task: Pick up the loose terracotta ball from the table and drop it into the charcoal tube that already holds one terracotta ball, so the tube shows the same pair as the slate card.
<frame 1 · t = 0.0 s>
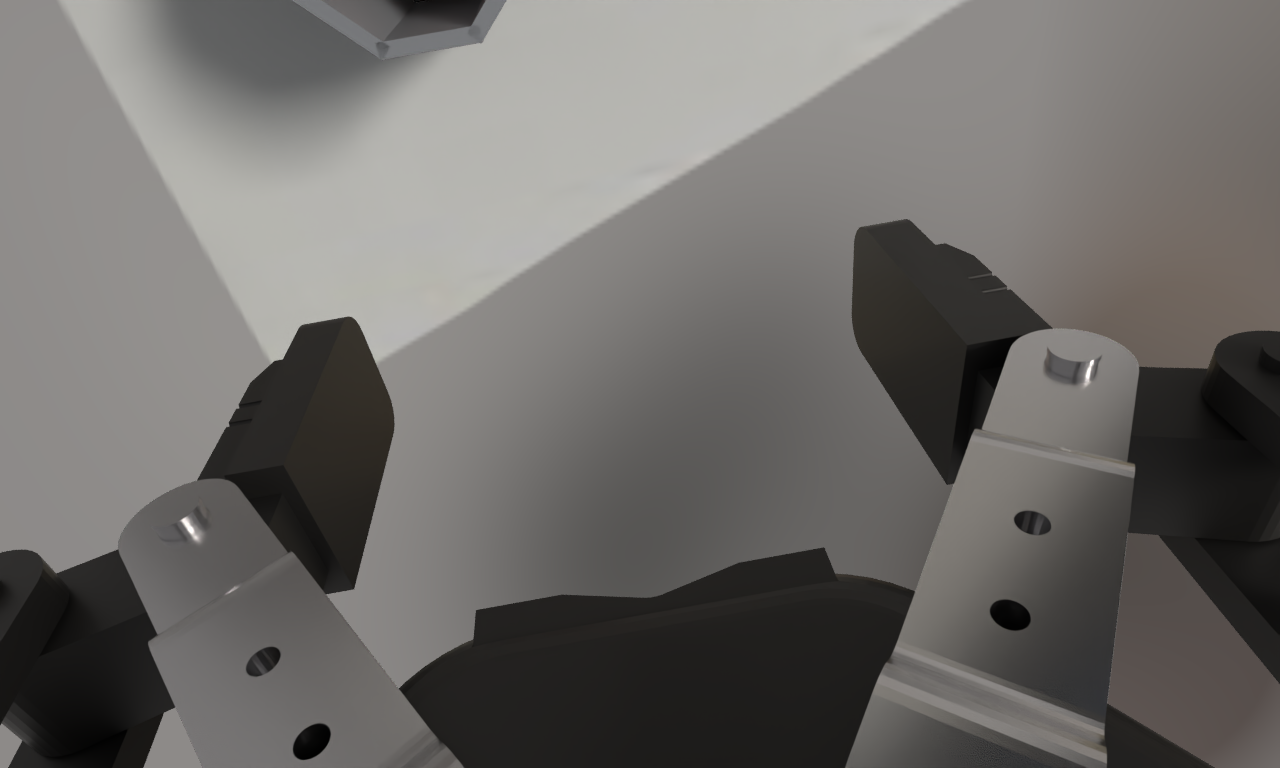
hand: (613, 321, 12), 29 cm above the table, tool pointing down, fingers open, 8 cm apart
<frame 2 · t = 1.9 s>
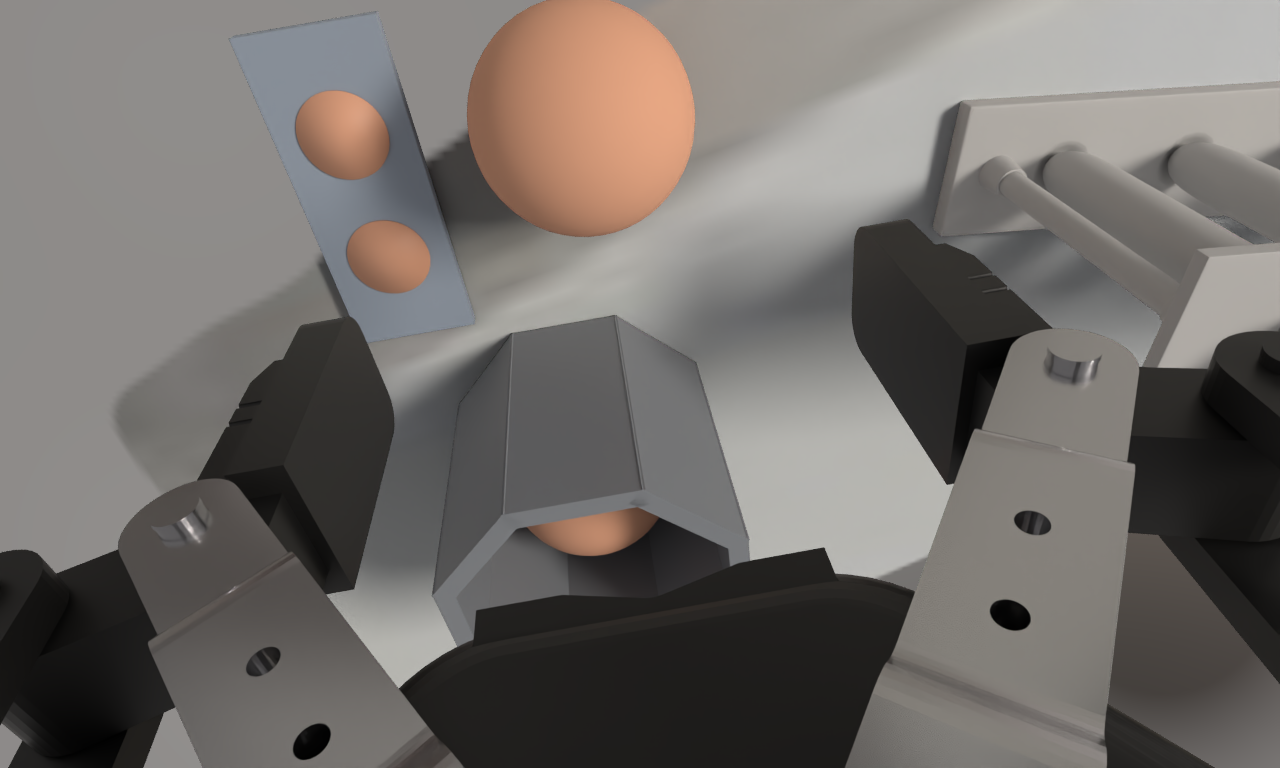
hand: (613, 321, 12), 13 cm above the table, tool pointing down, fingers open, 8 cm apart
target card: (369, 195, 23), on the table
tube: (586, 421, 30), on the table
ball in tube: (590, 472, 27), point 3 cm above the table
ball: (582, 122, 20), point 3 cm above the table
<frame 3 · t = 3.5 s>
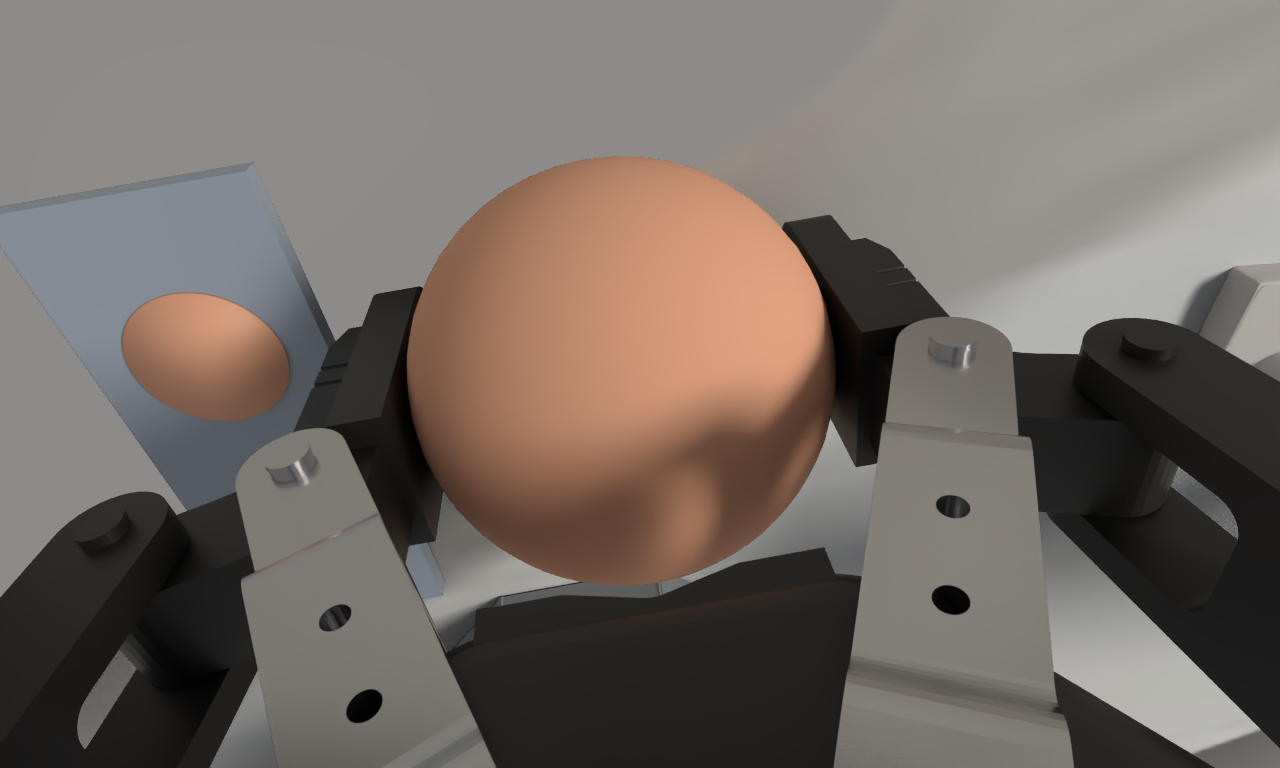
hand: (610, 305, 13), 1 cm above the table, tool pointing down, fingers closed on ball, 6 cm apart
target card: (266, 432, 14), on the table
tube: (610, 690, 21), on the table
ball: (622, 371, 11), point 3 cm above the table, touching gripper
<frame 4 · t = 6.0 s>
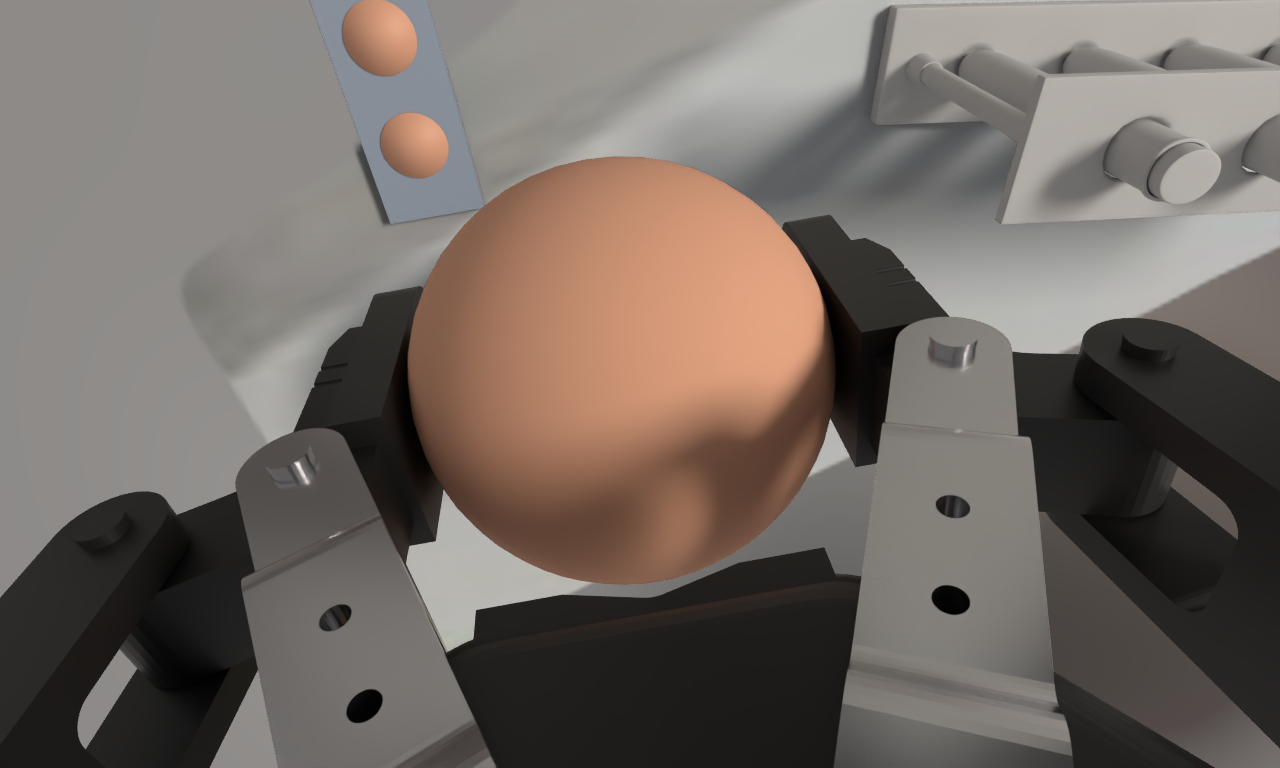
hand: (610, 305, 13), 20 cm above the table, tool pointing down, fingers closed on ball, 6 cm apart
target card: (400, 91, 29), on the table
test tube rack: (1161, 55, 32), on the table
ball: (623, 371, 11), point 22 cm above the table, touching gripper
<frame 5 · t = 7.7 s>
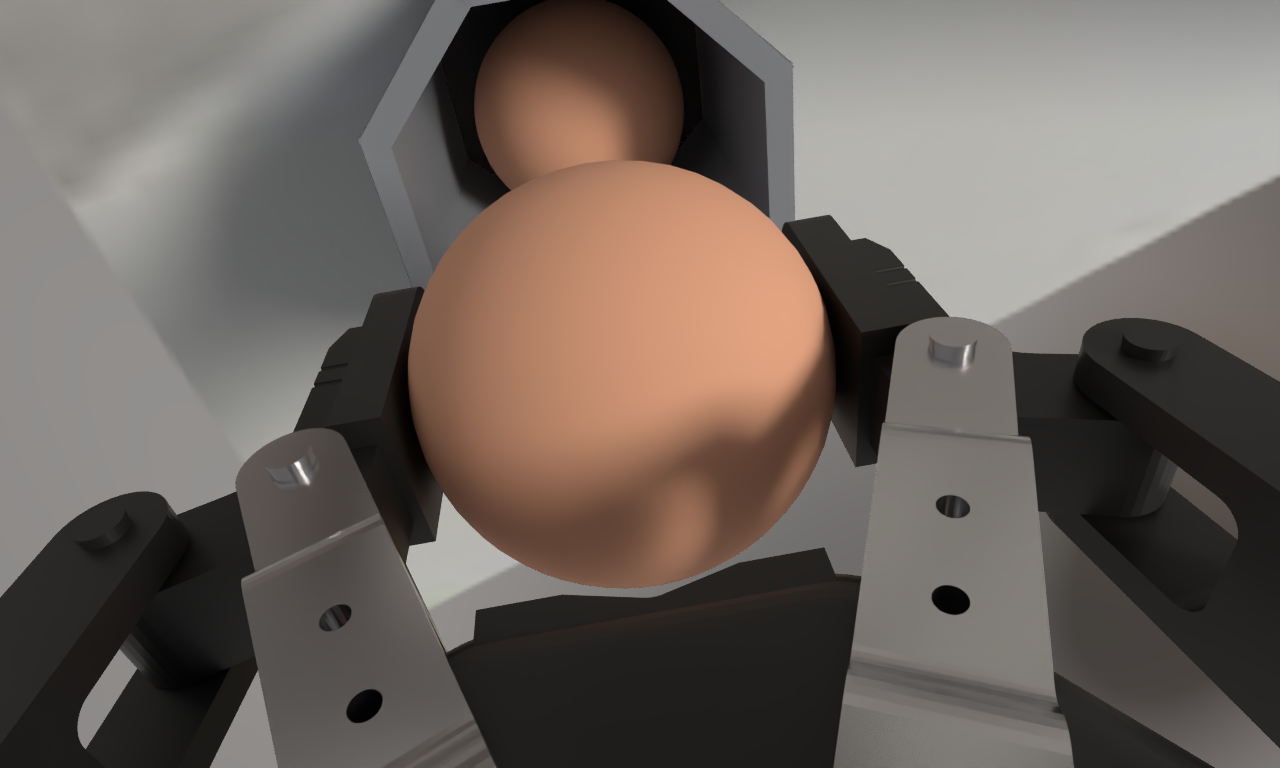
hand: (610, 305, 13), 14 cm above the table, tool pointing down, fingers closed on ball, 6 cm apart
tube: (576, 86, 24), on the table
ball in tube: (580, 113, 22), point 3 cm above the table
ball: (623, 374, 11), point 16 cm above the table, touching gripper
when the fingers open (11 cm above the table, at t = 8.8 s): ball drops 4 cm, resting on ball in tube.
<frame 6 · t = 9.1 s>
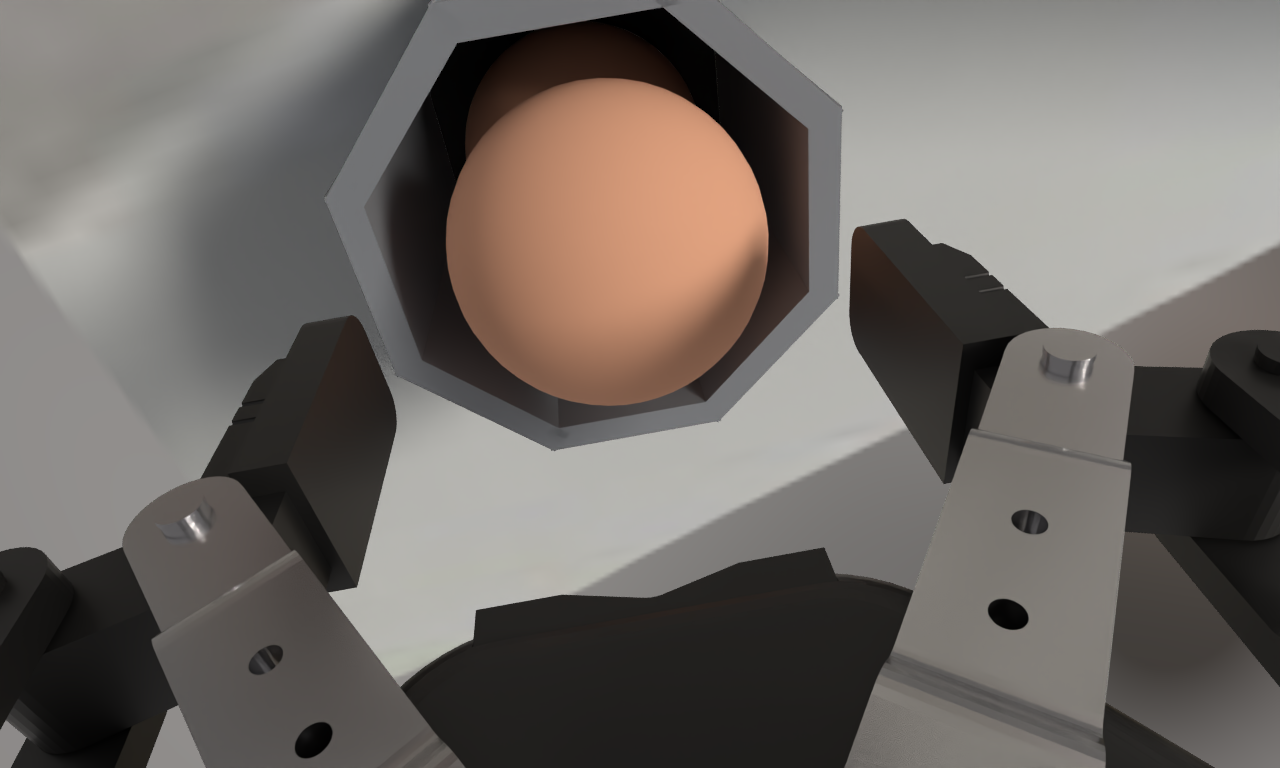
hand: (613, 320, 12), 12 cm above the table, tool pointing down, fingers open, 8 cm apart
tube: (581, 117, 21), on the table
ball in tube: (585, 151, 19), point 3 cm above the table, touching ball
ball: (608, 248, 14), point 9 cm above the table, touching ball in tube
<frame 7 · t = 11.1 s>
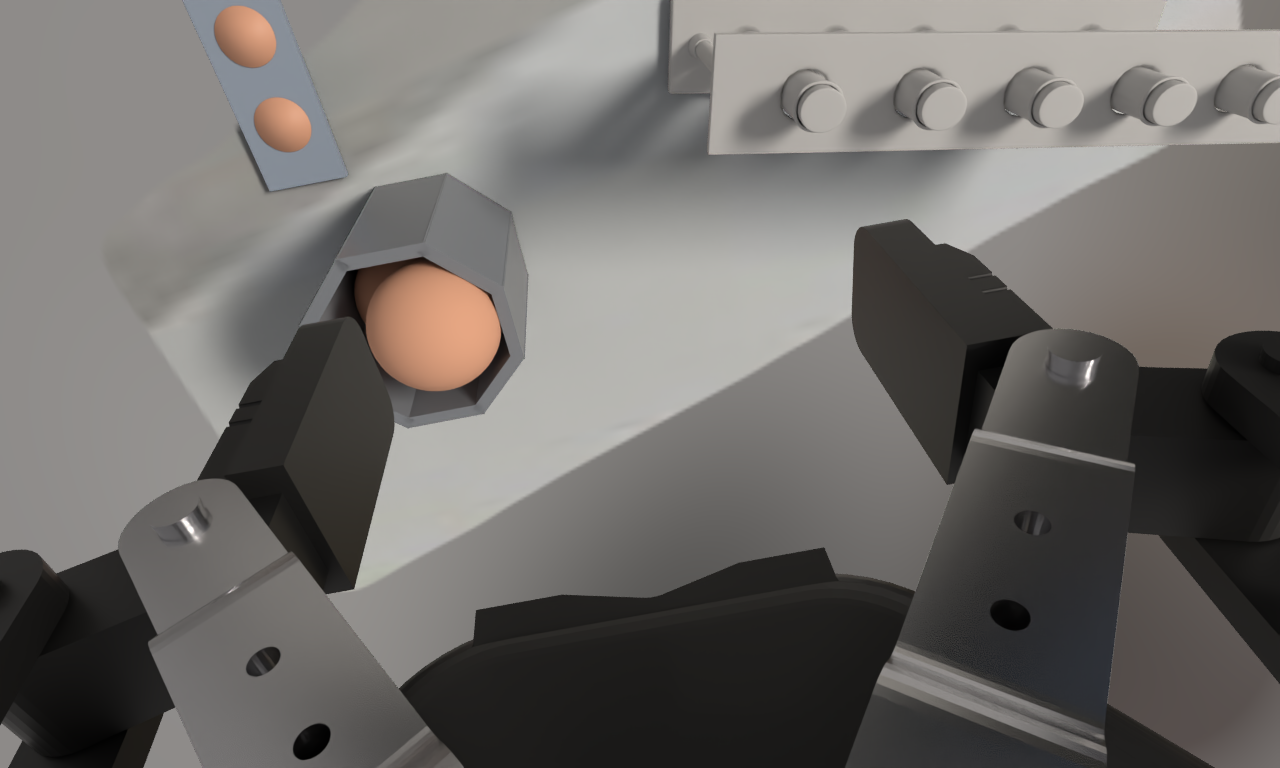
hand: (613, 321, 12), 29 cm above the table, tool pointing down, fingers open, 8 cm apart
target card: (267, 80, 36), on the table
tube: (438, 259, 41), on the table
test tube rack: (911, 40, 38), on the table
ball in tube: (415, 292, 39), point 3 cm above the table, tilted 20°, touching ball, tube
ball: (435, 326, 34), point 9 cm above the table, tilted 61°, touching ball in tube, tube
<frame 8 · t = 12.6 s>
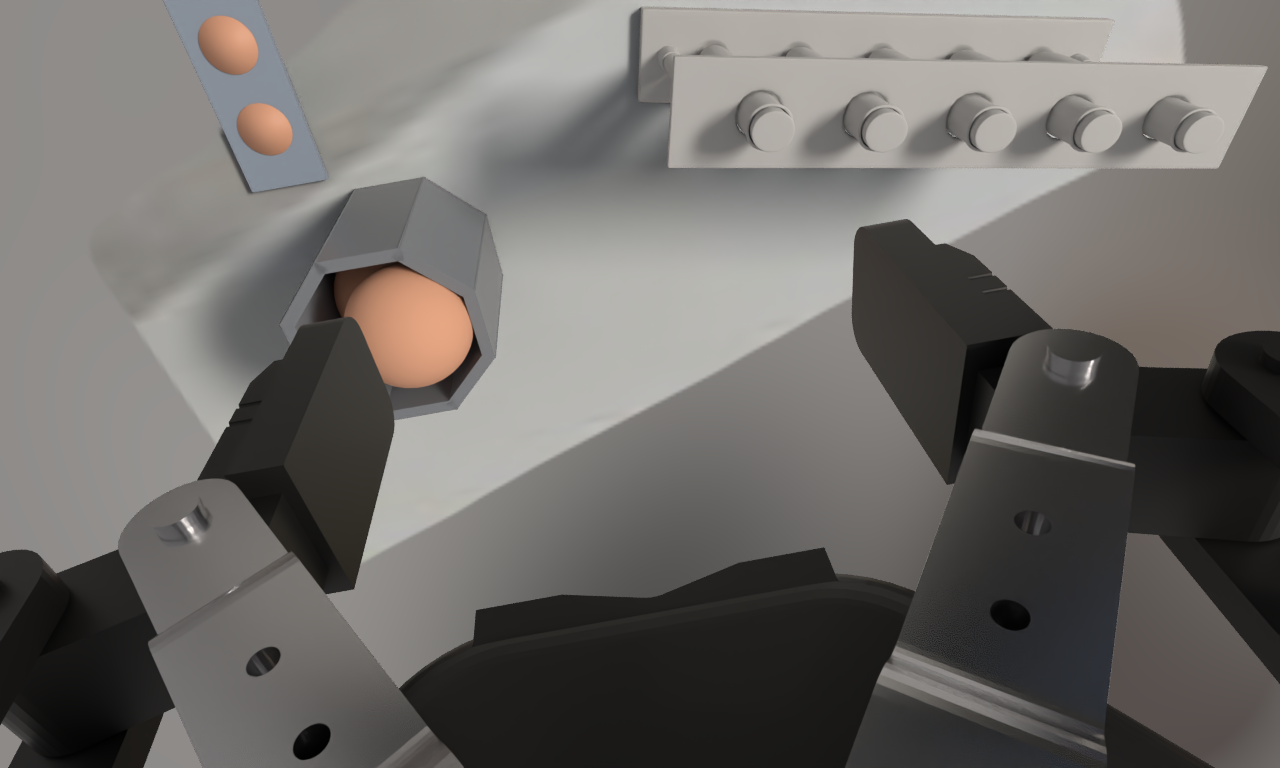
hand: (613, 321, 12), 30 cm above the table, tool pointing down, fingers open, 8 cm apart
target card: (250, 86, 37), on the table
tube: (416, 259, 43), on the table
test tube rack: (871, 57, 40), on the table
ball in tube: (392, 291, 41), point 3 cm above the table, tilted 20°, touching ball, tube
ball: (410, 326, 36), point 9 cm above the table, tilted 60°, touching ball in tube, tube
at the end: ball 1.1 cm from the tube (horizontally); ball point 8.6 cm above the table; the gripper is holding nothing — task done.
